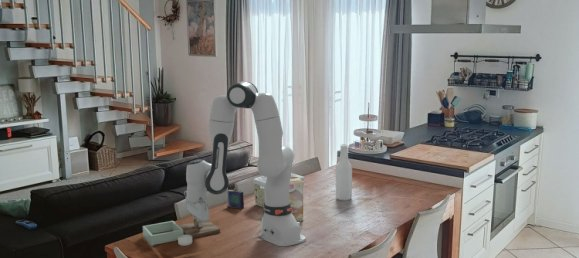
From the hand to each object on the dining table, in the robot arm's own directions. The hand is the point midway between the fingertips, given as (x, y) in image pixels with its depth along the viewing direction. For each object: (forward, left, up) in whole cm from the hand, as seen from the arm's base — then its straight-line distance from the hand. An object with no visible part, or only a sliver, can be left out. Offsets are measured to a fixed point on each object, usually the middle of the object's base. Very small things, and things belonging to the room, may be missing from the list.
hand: (198, 224), depth 237 cm
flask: (+25, -30, -4) cm, 39 cm away
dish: (+1, +16, -4) cm, 16 cm away
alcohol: (+8, -87, -4) cm, 87 cm away
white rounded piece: (-11, +10, -4) cm, 15 cm away
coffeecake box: (-6, -43, -4) cm, 44 cm away
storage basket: (+18, -52, -4) cm, 55 cm away
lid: (0, 0, -3) cm, 3 cm away
